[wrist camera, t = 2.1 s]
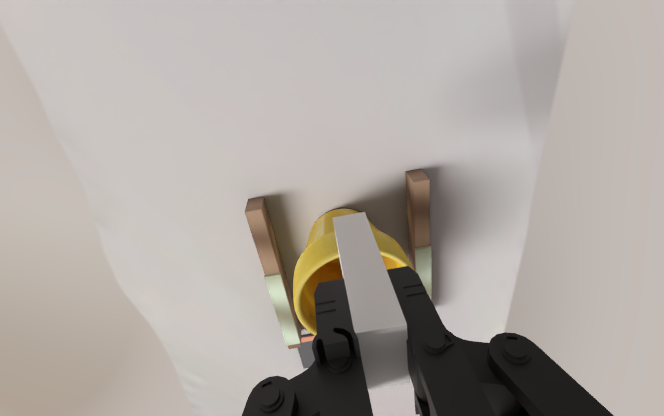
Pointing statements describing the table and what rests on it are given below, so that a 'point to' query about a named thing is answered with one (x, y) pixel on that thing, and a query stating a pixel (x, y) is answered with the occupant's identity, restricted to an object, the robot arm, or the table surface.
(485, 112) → the table surface
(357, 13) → the table surface
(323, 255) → the plant pot
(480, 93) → the table surface
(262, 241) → the pair of brown bars
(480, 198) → the table surface
